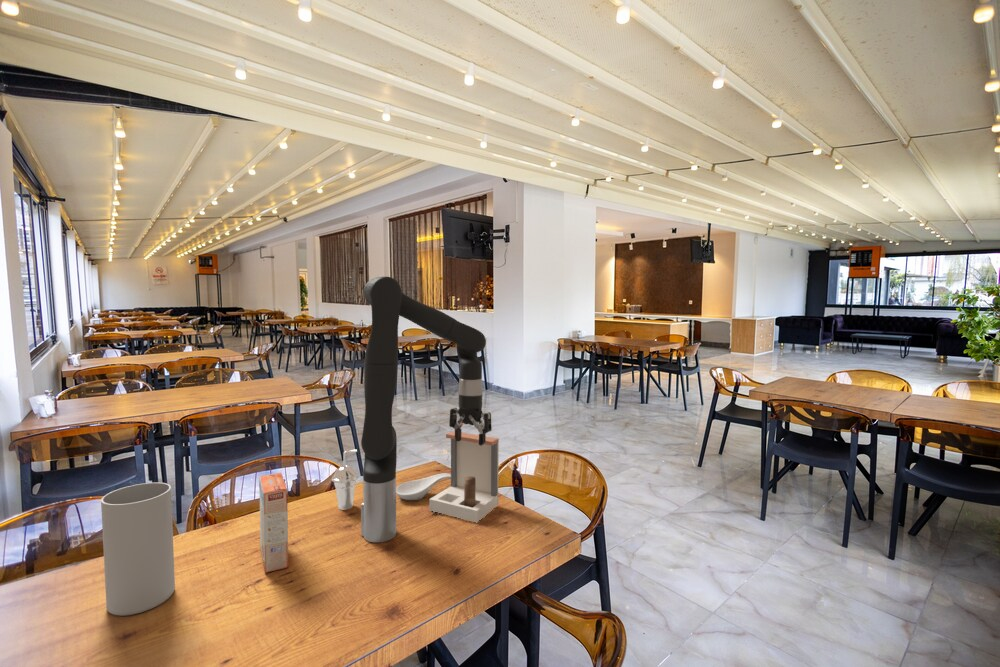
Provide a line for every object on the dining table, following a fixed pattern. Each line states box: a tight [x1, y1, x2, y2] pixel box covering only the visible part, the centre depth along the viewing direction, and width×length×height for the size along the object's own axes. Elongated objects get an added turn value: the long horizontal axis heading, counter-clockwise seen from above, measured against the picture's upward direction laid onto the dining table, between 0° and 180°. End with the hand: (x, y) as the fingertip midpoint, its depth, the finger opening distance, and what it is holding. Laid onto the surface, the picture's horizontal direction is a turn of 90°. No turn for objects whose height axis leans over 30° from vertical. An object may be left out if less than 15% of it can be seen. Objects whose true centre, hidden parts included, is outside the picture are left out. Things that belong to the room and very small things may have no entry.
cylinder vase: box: [100, 482, 176, 617], centre depth 108 cm, size 12×12×25 cm
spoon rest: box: [396, 472, 451, 501], centre depth 168 cm, size 24×12×7 cm, turn 108°
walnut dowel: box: [464, 476, 476, 508], centre depth 153 cm, size 4×4×12 cm
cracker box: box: [258, 472, 289, 574], centre depth 126 cm, size 14×6×21 cm, turn 30°
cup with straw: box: [331, 449, 360, 511], centre depth 157 cm, size 8×9×20 cm
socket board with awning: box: [428, 430, 500, 524], centre depth 157 cm, size 18×14×23 cm
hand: (469, 442), depth 152 cm, fingers open, 8 cm apart
